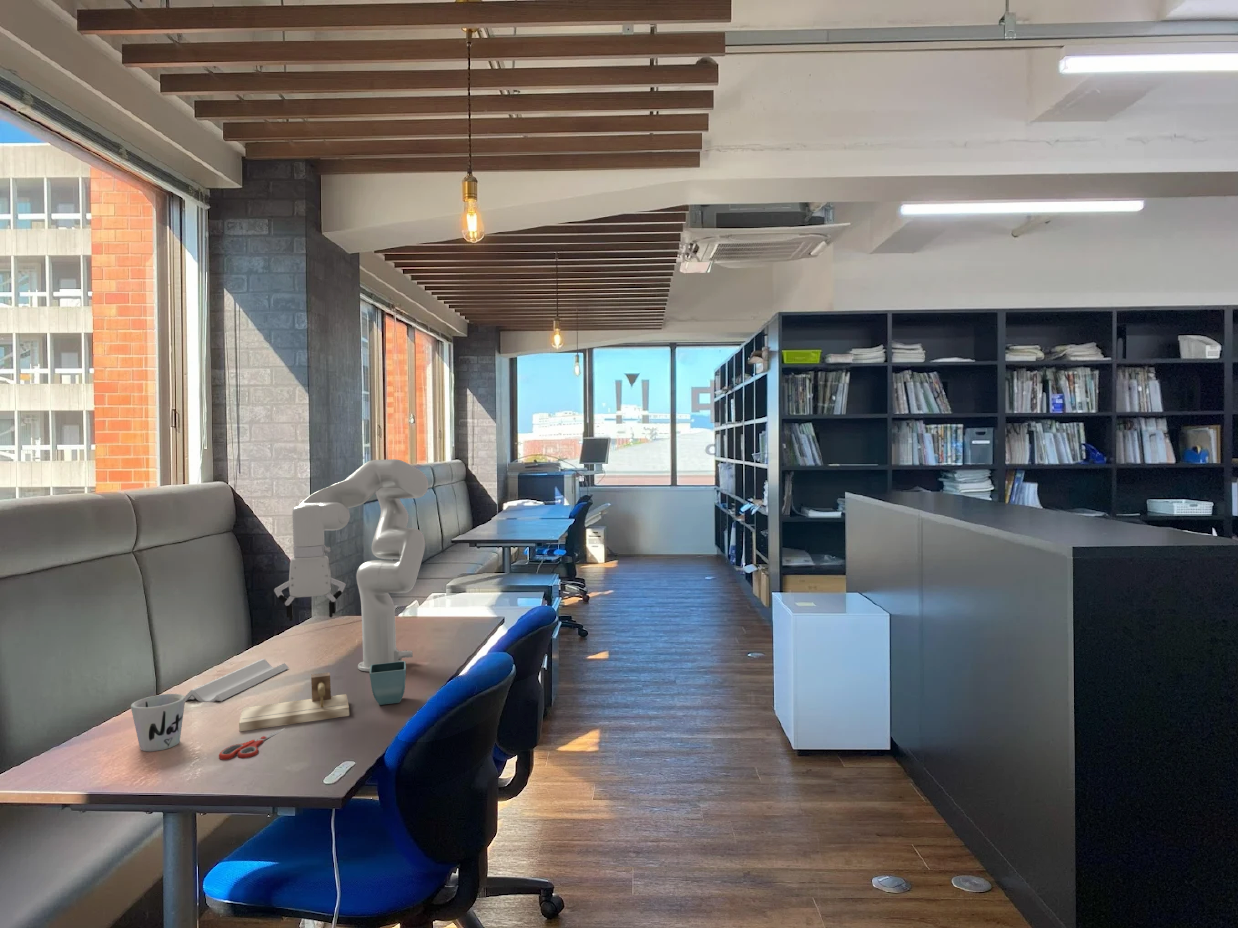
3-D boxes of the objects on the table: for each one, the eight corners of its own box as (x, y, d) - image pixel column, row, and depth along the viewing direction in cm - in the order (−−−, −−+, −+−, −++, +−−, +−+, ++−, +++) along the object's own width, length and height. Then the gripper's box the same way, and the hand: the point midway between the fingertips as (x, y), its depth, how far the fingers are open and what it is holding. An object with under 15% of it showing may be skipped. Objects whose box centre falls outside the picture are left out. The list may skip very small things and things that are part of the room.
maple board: (346, 701, 203) (346, 693, 203) (349, 715, 191) (348, 707, 191) (242, 715, 194) (242, 707, 194) (239, 731, 183) (238, 722, 183)
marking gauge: (330, 700, 203) (329, 670, 203) (332, 714, 191) (331, 683, 191) (312, 702, 201) (311, 673, 201) (312, 717, 189) (311, 686, 189)
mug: (148, 757, 168) (146, 710, 168) (112, 745, 176) (110, 700, 176) (196, 741, 177) (195, 697, 177) (160, 731, 185) (158, 688, 185)
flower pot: (370, 709, 196) (369, 672, 196) (371, 698, 205) (370, 664, 205) (407, 704, 199) (406, 669, 198) (407, 694, 207) (405, 660, 207)
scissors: (294, 726, 186) (294, 720, 186) (250, 761, 165) (250, 754, 165) (262, 727, 186) (262, 721, 186) (214, 762, 165) (214, 755, 165)
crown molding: (221, 704, 206) (220, 690, 206) (179, 704, 208) (178, 690, 208) (288, 670, 237) (288, 658, 237) (251, 670, 239) (251, 658, 239)
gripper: (344, 548, 212) (346, 612, 212) (274, 553, 207) (276, 618, 207) (344, 551, 205) (346, 617, 205) (271, 556, 200) (273, 624, 200)
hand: (311, 618), depth 206 cm, fingers open, 9 cm apart
